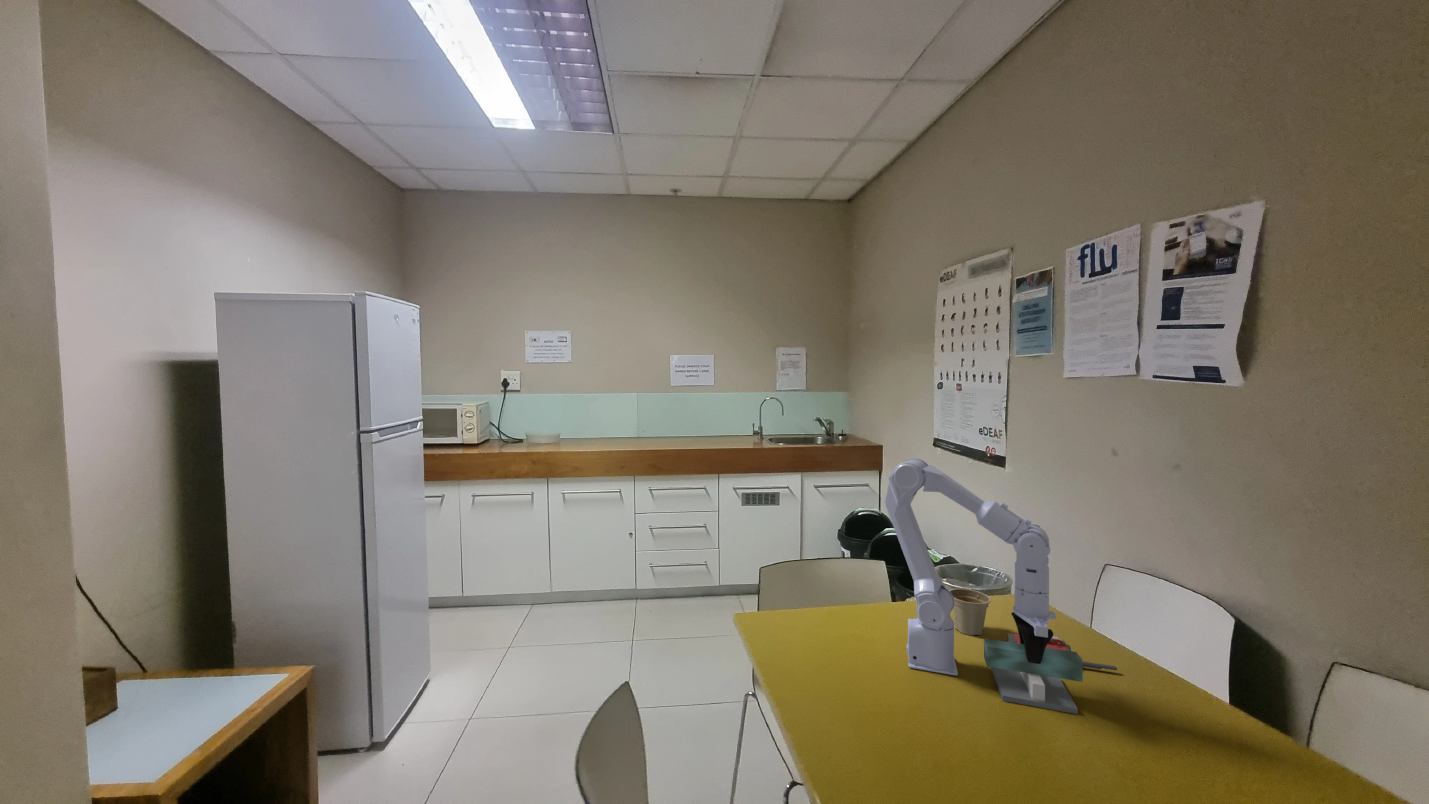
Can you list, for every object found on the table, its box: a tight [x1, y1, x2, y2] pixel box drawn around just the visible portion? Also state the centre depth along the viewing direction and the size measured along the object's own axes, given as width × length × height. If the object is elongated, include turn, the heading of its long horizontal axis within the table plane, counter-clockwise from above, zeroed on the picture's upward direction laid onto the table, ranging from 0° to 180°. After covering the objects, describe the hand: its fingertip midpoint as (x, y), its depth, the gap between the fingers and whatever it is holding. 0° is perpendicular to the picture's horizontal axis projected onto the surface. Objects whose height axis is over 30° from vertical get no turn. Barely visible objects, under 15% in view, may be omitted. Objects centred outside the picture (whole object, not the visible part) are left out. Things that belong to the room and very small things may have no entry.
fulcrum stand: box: [990, 667, 1079, 715], centre depth 98 cm, size 12×12×4 cm
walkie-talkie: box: [1006, 632, 1118, 671], centre depth 110 cm, size 9×4×20 cm
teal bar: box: [983, 638, 1084, 683], centre depth 98 cm, size 16×4×4 cm, turn 70°
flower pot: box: [948, 588, 992, 636], centre depth 123 cm, size 9×9×9 cm
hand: (1031, 657), depth 98 cm, fingers closed on teal bar, 3 cm apart
